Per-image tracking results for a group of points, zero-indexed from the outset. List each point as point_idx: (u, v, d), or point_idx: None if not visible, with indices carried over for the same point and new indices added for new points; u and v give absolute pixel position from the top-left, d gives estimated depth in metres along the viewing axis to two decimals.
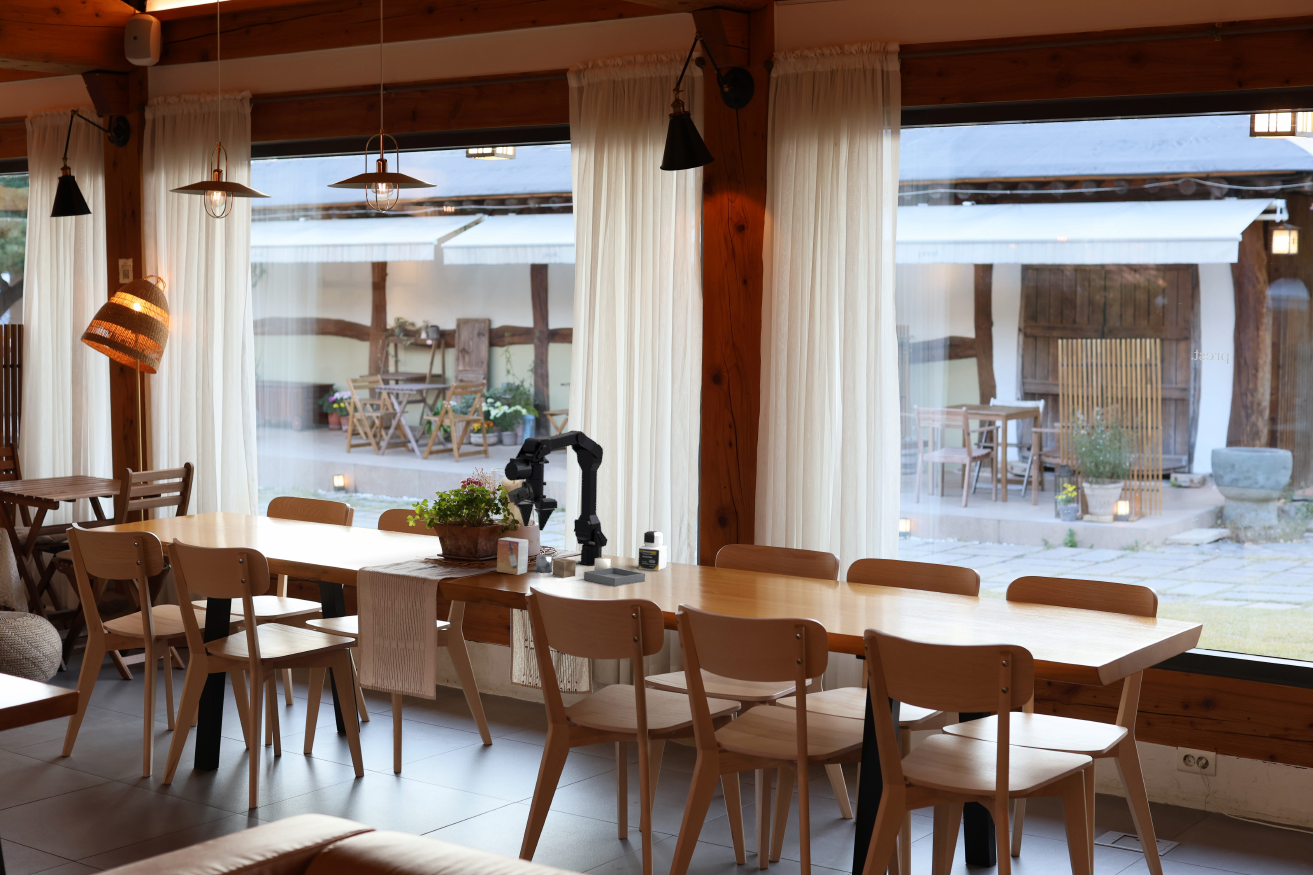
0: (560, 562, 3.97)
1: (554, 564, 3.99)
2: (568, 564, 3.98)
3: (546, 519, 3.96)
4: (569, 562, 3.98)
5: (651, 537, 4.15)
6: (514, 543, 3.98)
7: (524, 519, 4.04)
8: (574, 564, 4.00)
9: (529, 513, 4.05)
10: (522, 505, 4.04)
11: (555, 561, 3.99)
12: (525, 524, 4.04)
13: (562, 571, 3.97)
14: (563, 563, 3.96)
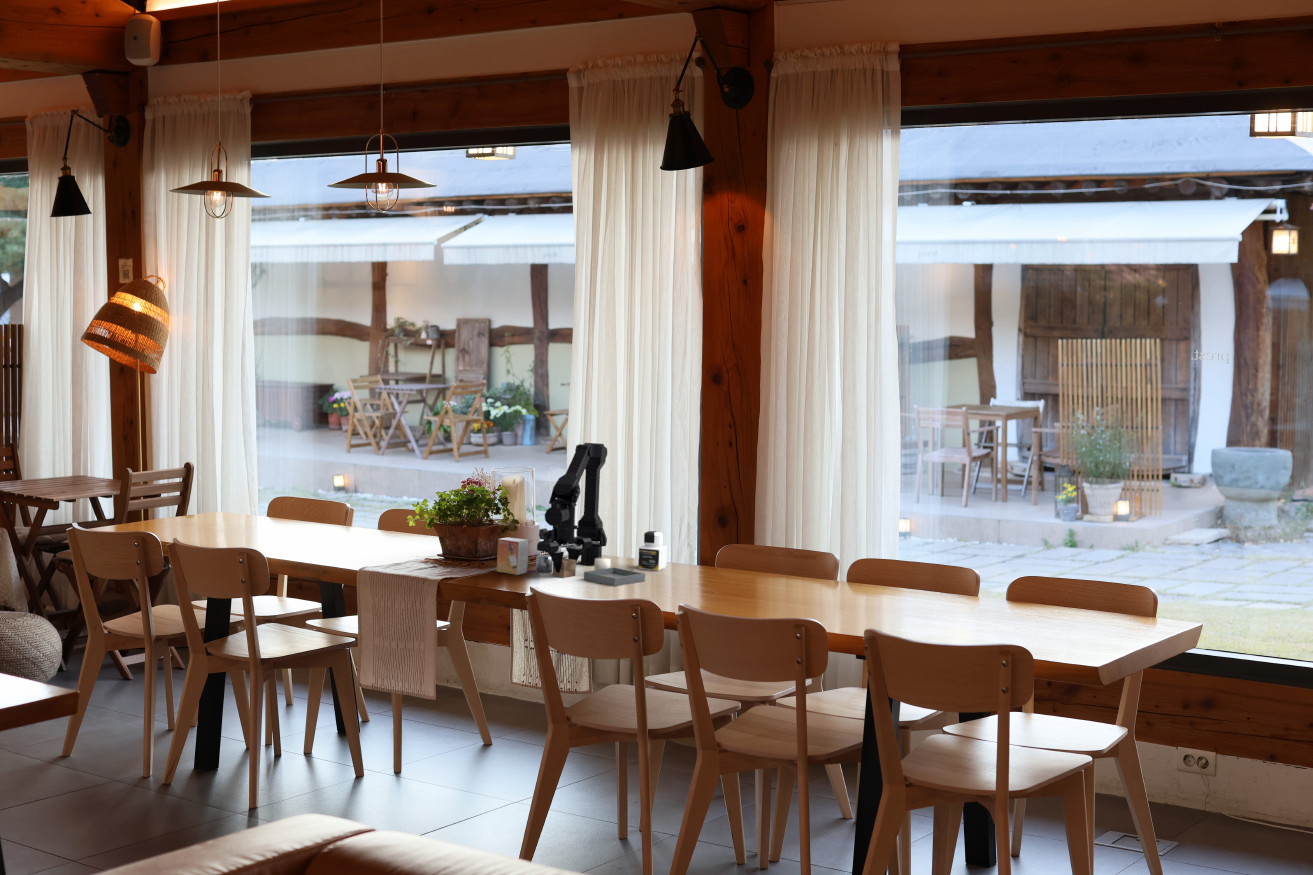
0: None
1: None
2: (568, 564, 3.98)
3: (557, 562, 3.96)
4: (569, 562, 3.98)
5: (651, 537, 4.15)
6: (514, 543, 3.98)
7: None
8: (574, 564, 3.99)
9: (573, 558, 4.01)
10: (569, 549, 4.02)
11: None
12: None
13: (562, 571, 3.97)
14: (563, 563, 3.96)
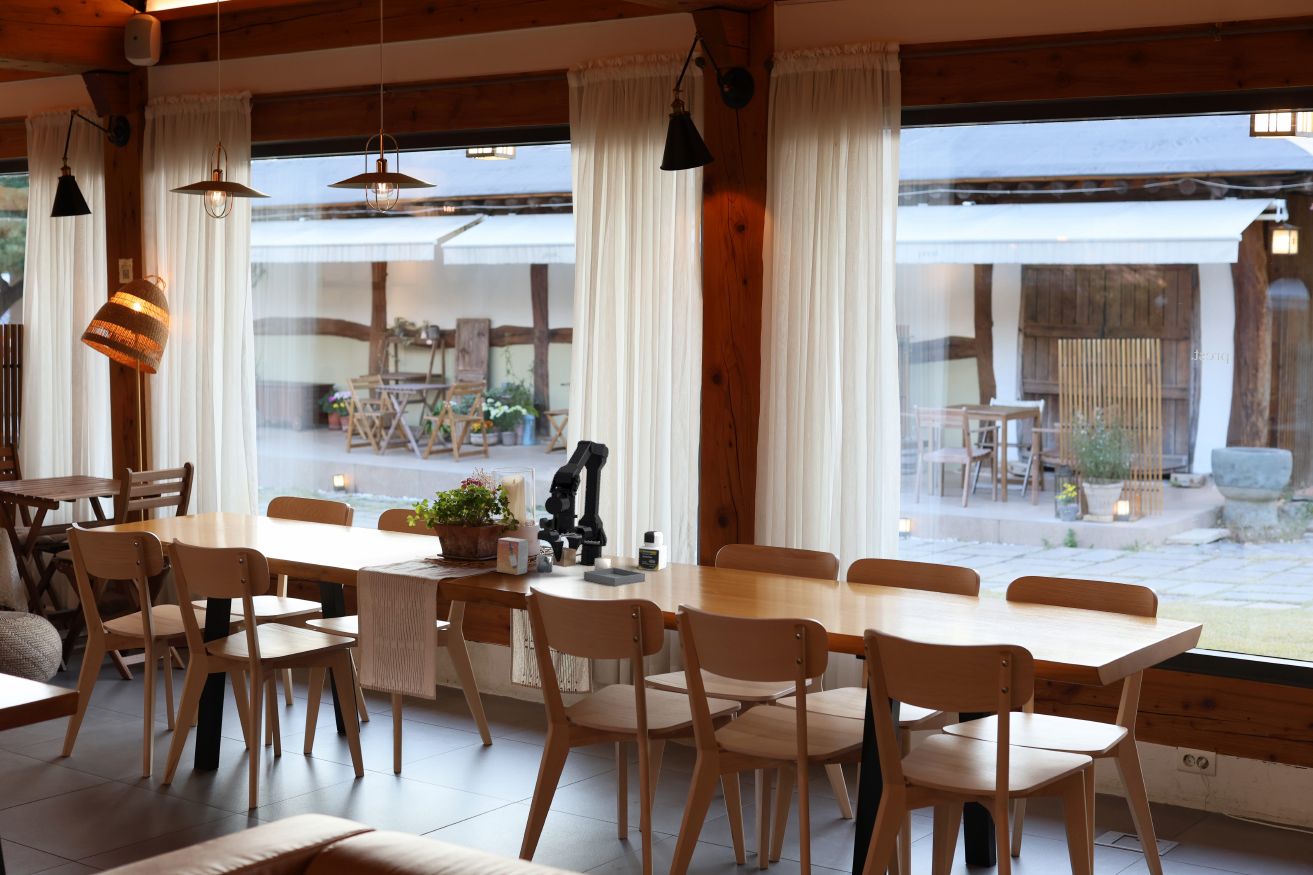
0: None
1: None
2: (568, 553, 3.97)
3: (558, 551, 3.96)
4: (569, 551, 3.97)
5: (651, 537, 4.15)
6: (514, 543, 3.98)
7: None
8: (574, 553, 3.99)
9: (574, 548, 4.00)
10: (569, 538, 4.02)
11: None
12: None
13: (562, 560, 3.96)
14: (563, 552, 3.96)
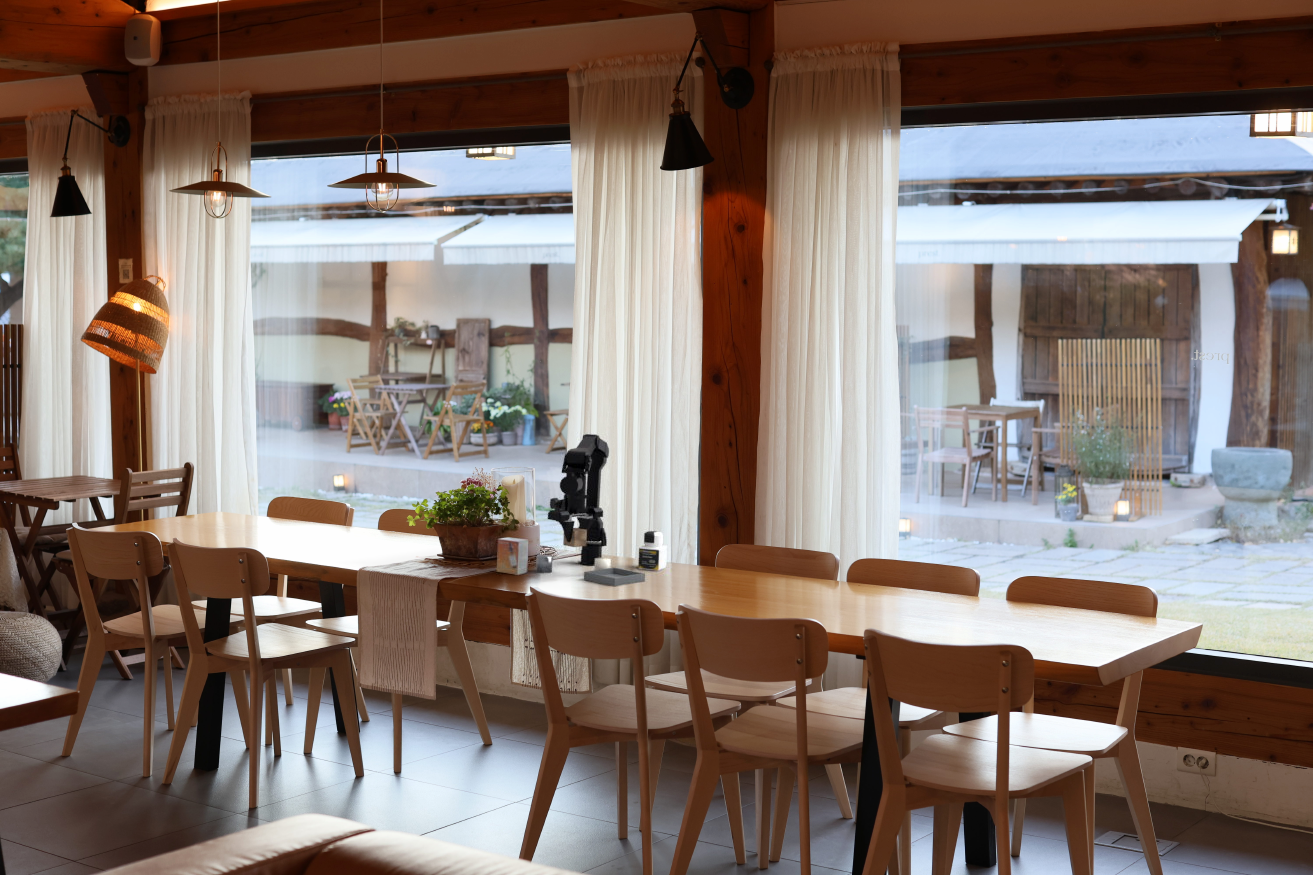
0: None
1: None
2: (579, 533, 3.96)
3: (568, 531, 3.94)
4: (580, 531, 3.96)
5: (651, 537, 4.15)
6: (514, 543, 3.98)
7: None
8: (585, 533, 3.98)
9: (584, 528, 3.99)
10: (580, 519, 4.01)
11: None
12: None
13: (572, 540, 3.95)
14: (574, 532, 3.95)
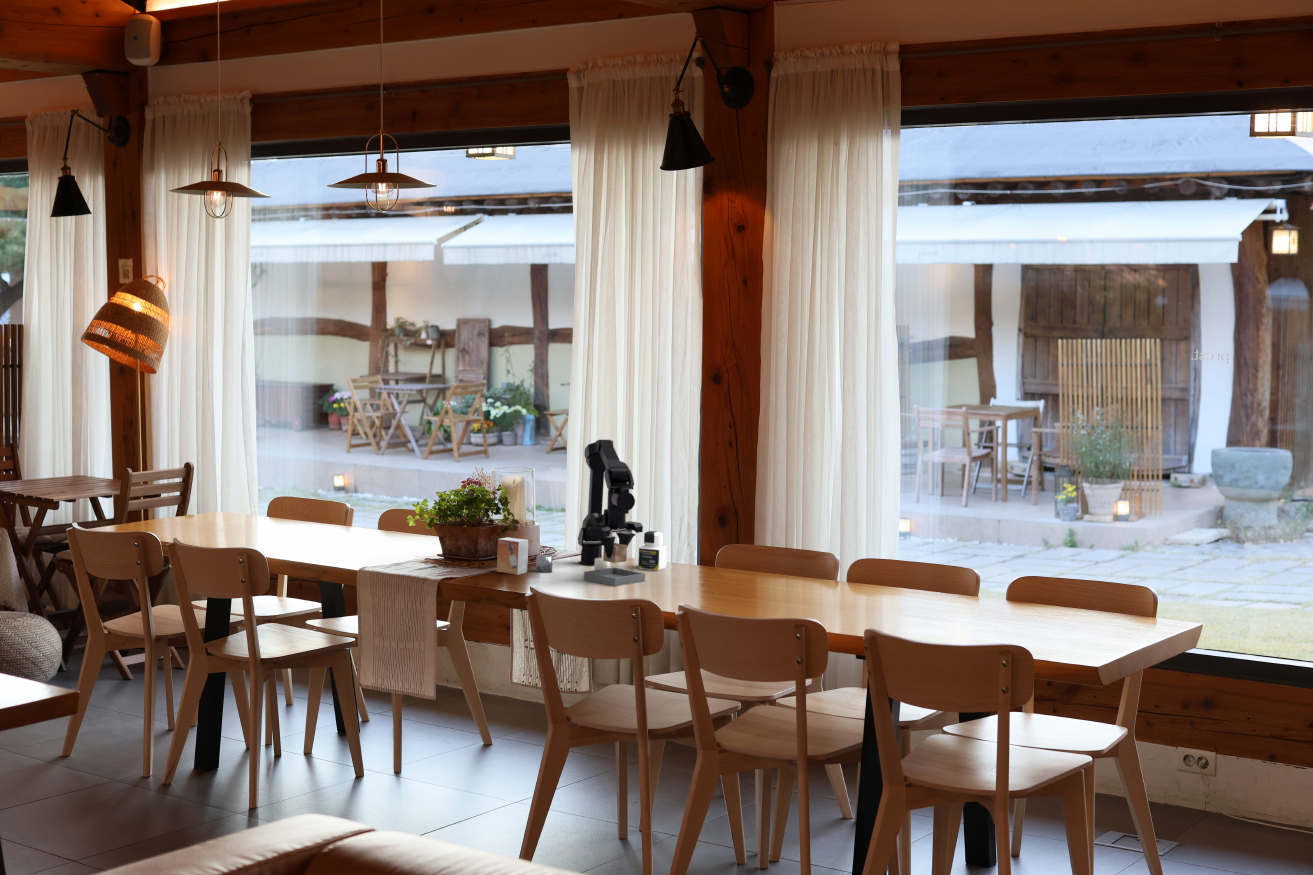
0: None
1: None
2: (619, 549, 3.92)
3: (609, 547, 3.91)
4: (620, 547, 3.93)
5: (651, 537, 4.15)
6: (514, 543, 3.98)
7: None
8: (625, 549, 3.94)
9: (624, 543, 3.96)
10: (620, 534, 3.97)
11: None
12: None
13: (613, 556, 3.92)
14: (614, 548, 3.91)
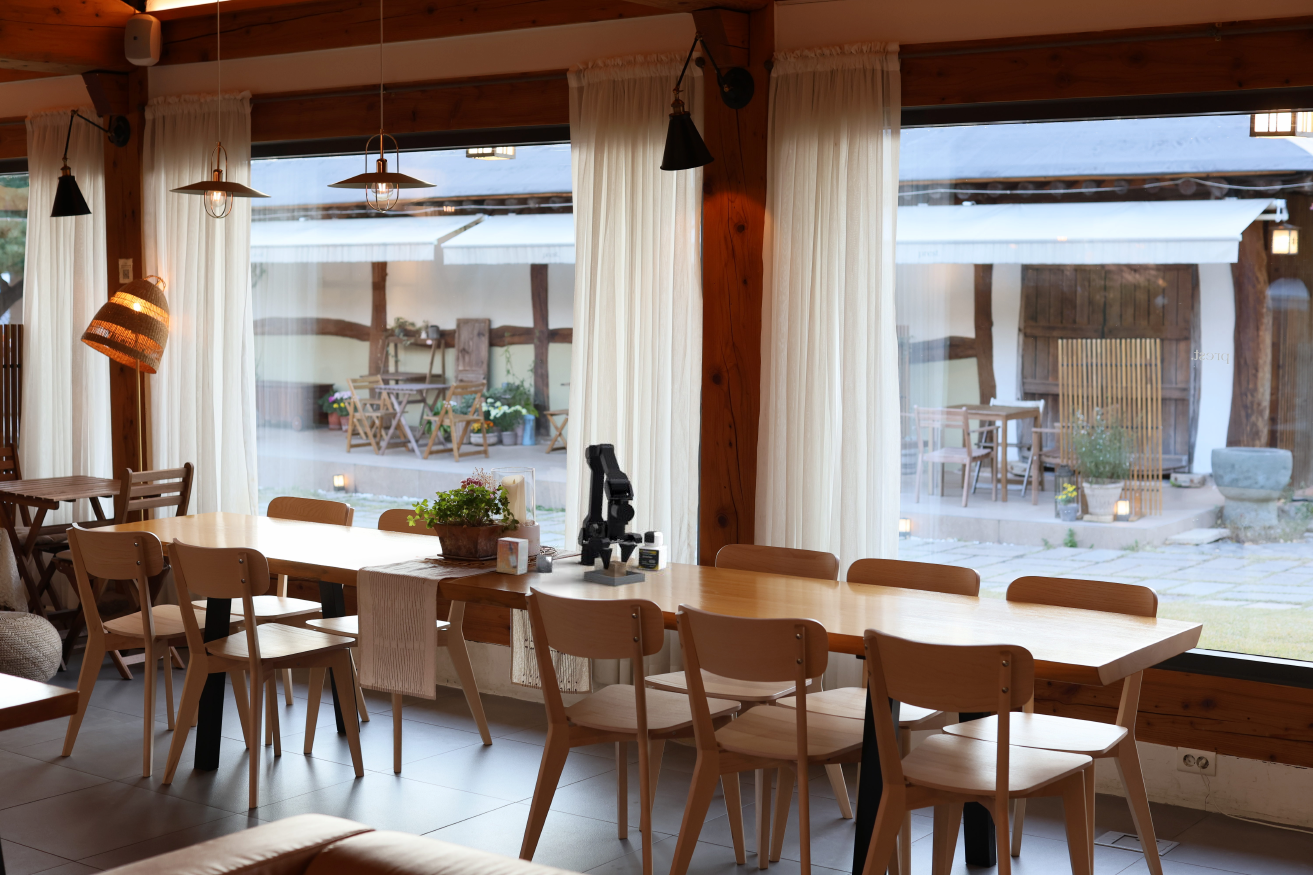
0: (611, 564, 3.92)
1: None
2: (619, 566, 3.93)
3: (606, 559, 3.90)
4: (620, 564, 3.93)
5: (651, 537, 4.15)
6: (514, 543, 3.98)
7: (621, 559, 3.98)
8: (625, 566, 3.95)
9: (626, 554, 3.97)
10: (622, 545, 3.98)
11: None
12: None
13: (613, 573, 3.92)
14: (614, 565, 3.92)
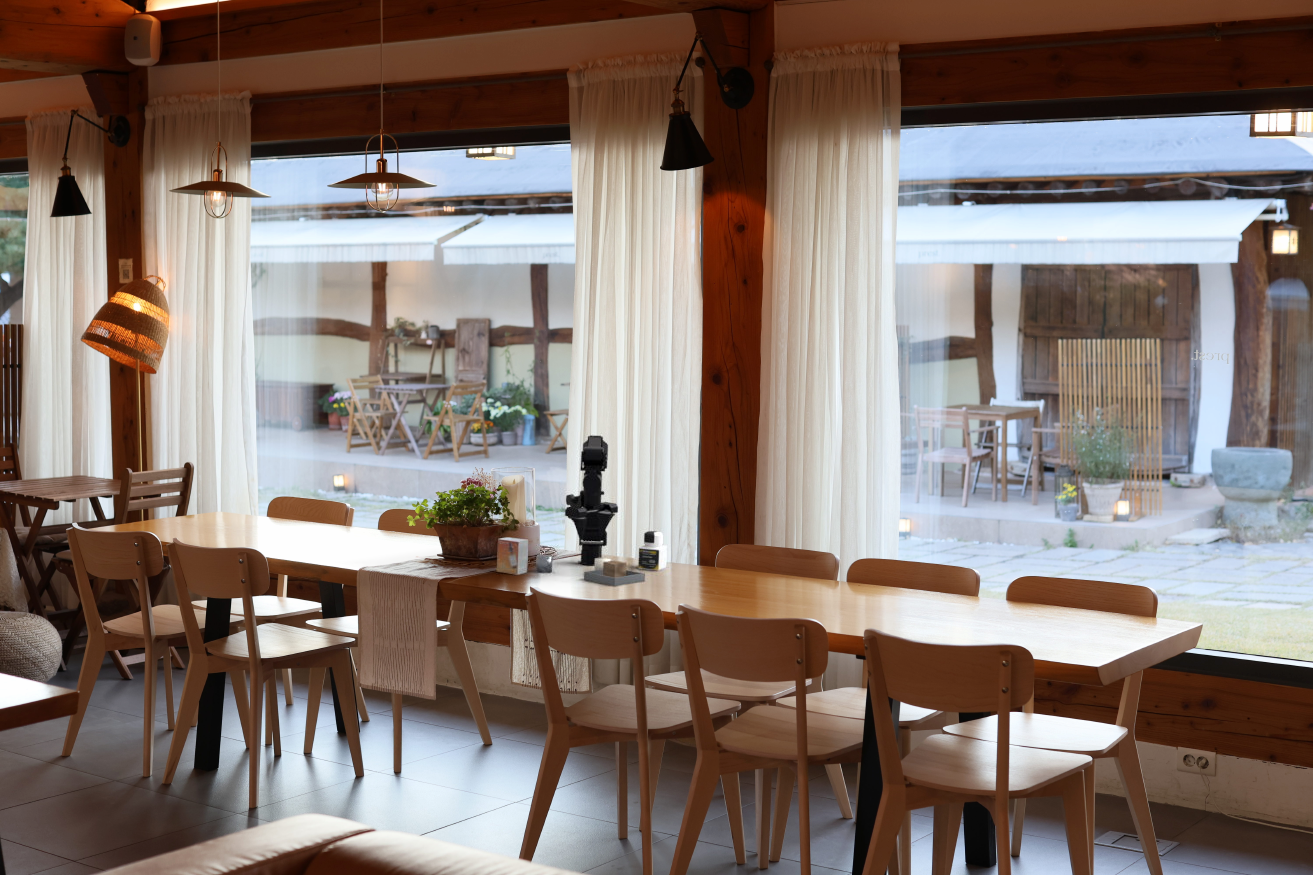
0: (611, 564, 3.92)
1: (604, 566, 3.94)
2: (619, 566, 3.93)
3: (581, 528, 3.99)
4: (620, 564, 3.93)
5: (651, 537, 4.15)
6: (514, 543, 3.98)
7: (599, 528, 4.08)
8: (625, 566, 3.95)
9: (604, 523, 4.07)
10: (600, 514, 4.08)
11: (606, 563, 3.94)
12: (600, 533, 4.08)
13: (613, 573, 3.92)
14: (614, 565, 3.92)
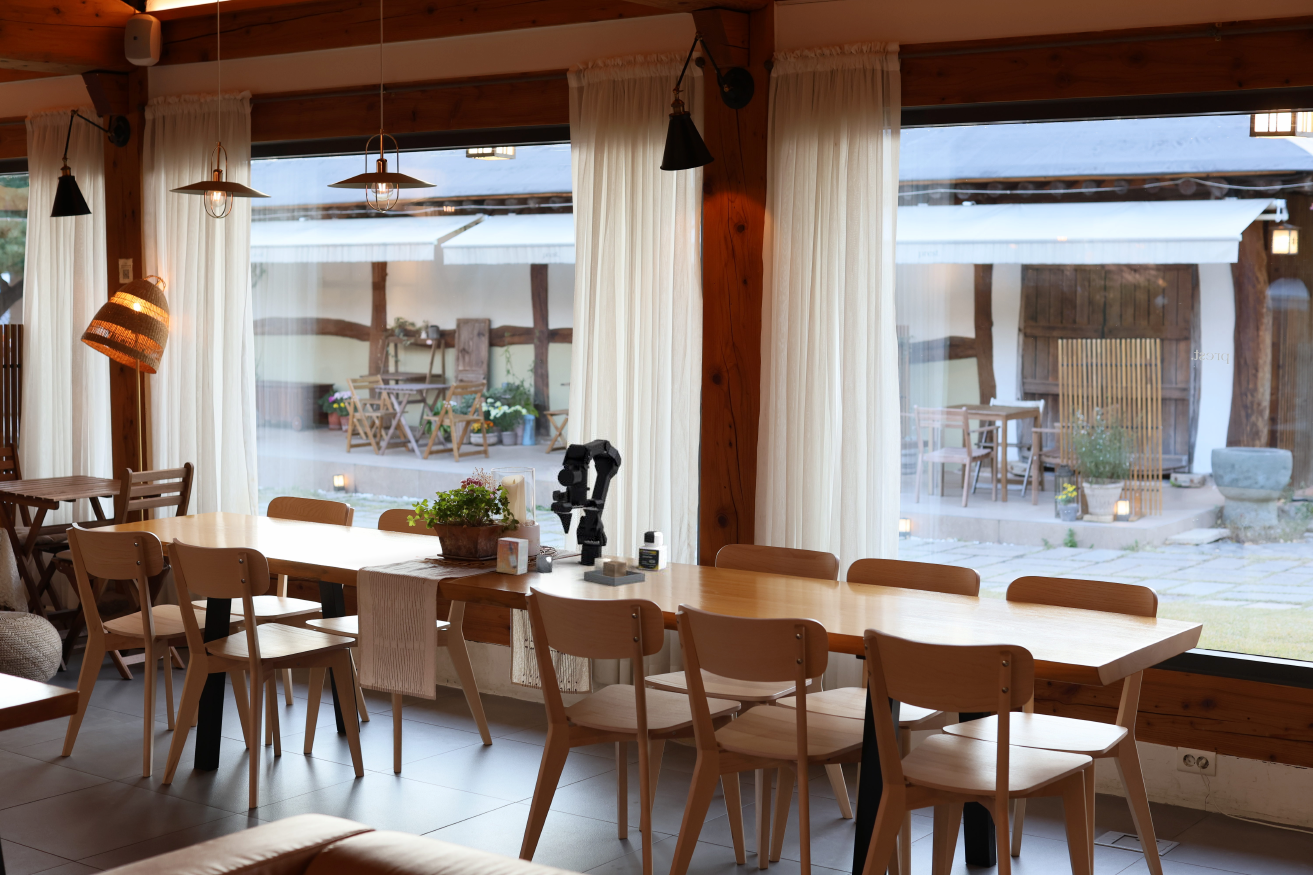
0: (611, 564, 3.92)
1: (604, 566, 3.94)
2: (619, 566, 3.93)
3: (566, 523, 4.04)
4: (620, 564, 3.93)
5: (651, 537, 4.15)
6: (514, 543, 3.98)
7: (585, 524, 4.13)
8: (625, 566, 3.95)
9: (590, 519, 4.12)
10: (586, 510, 4.14)
11: (606, 563, 3.94)
12: (586, 529, 4.13)
13: (613, 573, 3.92)
14: (614, 565, 3.92)
